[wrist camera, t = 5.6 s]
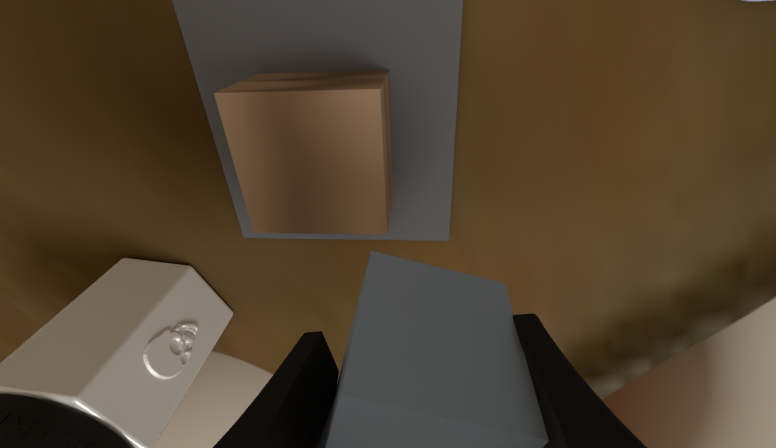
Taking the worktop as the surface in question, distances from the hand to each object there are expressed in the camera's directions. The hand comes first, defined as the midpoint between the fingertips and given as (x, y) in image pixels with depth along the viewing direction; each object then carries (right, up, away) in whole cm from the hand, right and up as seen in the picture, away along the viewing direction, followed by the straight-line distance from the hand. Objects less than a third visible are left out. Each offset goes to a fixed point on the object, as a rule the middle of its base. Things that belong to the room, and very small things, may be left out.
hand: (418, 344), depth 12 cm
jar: (-16, -2, +14) cm, 21 cm away
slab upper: (-4, +7, +4) cm, 9 cm away
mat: (-4, +8, +6) cm, 11 cm away
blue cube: (0, +1, +1) cm, 1 cm away
